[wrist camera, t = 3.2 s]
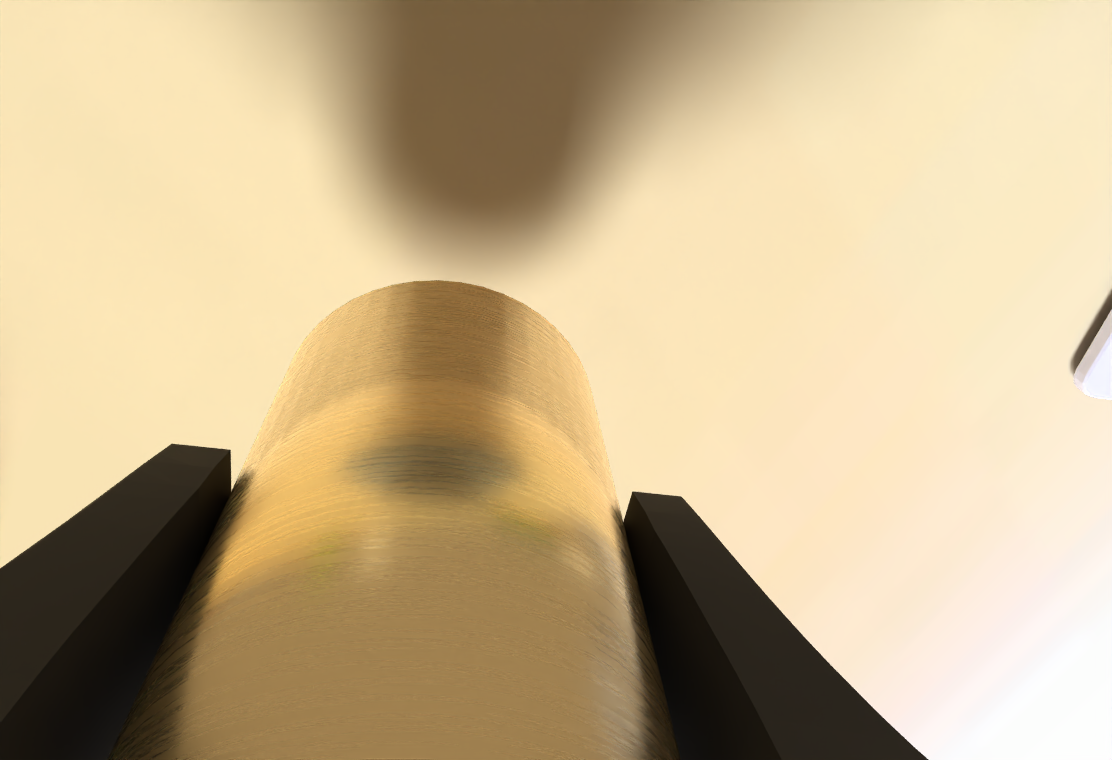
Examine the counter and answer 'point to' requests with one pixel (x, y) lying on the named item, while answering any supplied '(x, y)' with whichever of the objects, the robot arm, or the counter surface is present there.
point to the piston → (415, 559)
